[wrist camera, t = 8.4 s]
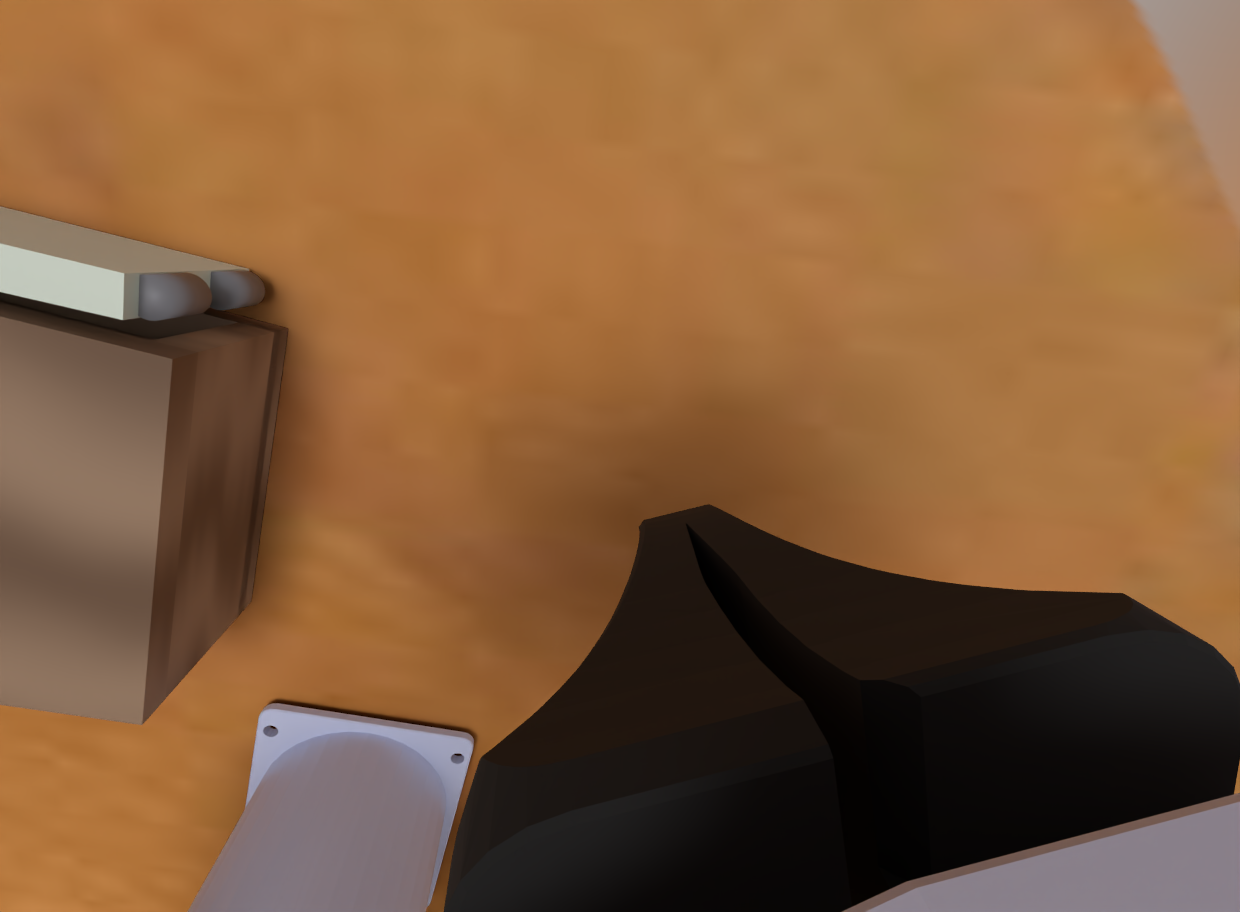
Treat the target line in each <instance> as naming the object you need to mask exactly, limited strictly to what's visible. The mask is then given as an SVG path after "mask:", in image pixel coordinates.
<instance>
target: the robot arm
mask: <svg viewBox="0 0 1240 912" xmlns="http://www.w3.org/2000/svg"><path fill="white" fill-rule="evenodd" d="M639 530H640V538H639V544H638V549H637V554H636V557H635V561H634V564H633V568H632V571H631V574H630V577H629V580H628V582H627V585H626V587H625V590H624V592H623V595H622V597H621V599H620V602H619V604H618V606H617V608H616V610H615V612H614V614H613V616H612V618H611V620H610V622H609V623H608V625H607V627H606V629H605V630H604V632H603V634H602V635H601V637H600V639H599V640H598V642H597V643H596V644H595V646H594V647H593V649H592V650H591V652H590V653H589V655H588V656H587V657H586V659H585V660H584V661H583V663H582V664H581V665H580V667H579V668H578V669H577V670H576V671H575V673H574V674H573V675H572V676H571V677H570V678H569V679H568V680H567V681H566V683H565V684H564V685H563V686H562V687H561V688H560V689H559V690H558V691H557V692H556V693H555V694H554V695H553V696H552V697H551V698H550V699H549V700H548V701H547V702H546V703H545V704H544V705H543V706H542V707H541V708H540V709H539V710H538V711H537V712H535V713H534V714H533V715H532V716H531V717H530V718H529V719H527V720H526V721H525V722H524V723H523V724H521V725H520V726H519V727H518V728H517V729H515V730H514V731H513V732H512V733H511V734H509V735H508V736H507V737H506V738H505V739H503V740H502V741H501V742H500V743H499V744H497V745H496V746H495V747H494V748H493V749H491V750H490V751H489V752H487V753H486V754H485V755H483V756H482V757H481V759H480V761H479V764H478V767H477V770H476V773H475V776H474V779H473V782H472V786H471V789H470V792H469V795H468V798H467V802H466V805H465V808H464V812H463V815H462V818H461V822H460V825H459V828H458V832H457V836H456V841H455V846H454V851H453V855H452V862H451V868H450V874H449V881H448V887H447V894H446V900H445V907H444V912H1240V793H1238V794H1234V790H1235V784H1236V778H1237V772H1238V766H1239V760H1240V683H1239V680H1238V678H1237V675H1236V672H1235V670H1234V667H1233V666H1232V665H1231V664H1230V663H1229V662H1228V661H1227V660H1226V659H1225V658H1224V657H1223V656H1222V655H1221V654H1220V653H1219V652H1218V651H1217V650H1216V649H1215V648H1214V647H1213V646H1212V645H1210V644H1208V643H1207V642H1205V641H1203V640H1202V639H1200V638H1198V637H1196V636H1195V635H1193V634H1191V633H1190V632H1188V631H1186V630H1185V629H1183V628H1181V627H1180V626H1178V625H1176V624H1174V623H1173V622H1171V621H1169V620H1168V619H1166V618H1164V617H1163V616H1161V615H1159V614H1158V613H1156V612H1154V611H1153V610H1151V609H1149V608H1147V607H1146V606H1144V605H1142V604H1141V603H1139V602H1137V601H1136V600H1134V599H1132V598H1131V597H1129V596H1127V595H1125V594H1123V593H1097V592H1062V591H1027V590H1013V589H1002V588H991V587H981V586H970V585H961V584H954V583H946V582H939V581H932V580H926V579H921V578H915V577H910V576H904V575H899V574H893V573H889V572H884V571H880V570H875V569H871V568H867V567H863V566H860V565H856V564H852V563H849V562H845V561H842V560H838V559H834V558H831V557H828V556H825V555H822V554H819V553H816V552H814V551H811V550H808V549H806V548H803V547H800V546H798V545H795V544H792V543H790V542H787V541H785V540H783V539H780V538H778V537H776V536H773V535H771V534H769V533H767V532H765V531H762V530H760V529H758V528H756V527H754V526H752V525H750V524H748V523H746V522H744V521H742V520H740V519H738V518H736V517H734V516H732V515H730V514H728V513H726V512H724V511H722V510H720V509H718V508H716V507H714V506H712V505H709V504H708V505H704V506H700V507H696V508H691V509H687V510H683V511H679V512H675V513H671V514H667V515H663V516H659V517H655V518H651V519H646V520H644V521H643V522H642V523H641V525H640V526H639ZM270 726H274V727H276V728H277V729H273V728H271V727H270ZM473 746H474V739H473V737H472V736H471V735H470V734H468V733H465V732H460V731H454V730H447V729H441V728H435V727H428V726H422V725H415V724H409V723H402V722H396V721H389V720H383V719H376V718H370V717H363V716H357V715H351V714H344V713H338V712H331V711H325V710H318V709H312V708H305V707H299V706H292V705H286V704H280V703H272V704H269V705H267V706H266V707H265V708H264V709H263V710H262V712H261V713H260V716H259V719H258V726H257V732H256V739H255V746H254V752H253V759H252V766H251V773H250V779H249V786H248V793H247V799H246V806H245V810H244V812H243V814H242V815H241V817H240V819H239V821H238V822H237V824H236V826H235V828H234V830H233V831H232V833H231V835H230V837H229V838H228V840H227V842H226V844H225V846H224V847H223V849H222V851H221V853H220V855H219V856H218V858H217V860H216V862H215V863H214V865H213V867H212V869H211V871H210V872H209V874H208V876H207V878H206V879H205V881H204V883H203V885H202V887H201V888H200V890H199V892H198V894H197V896H196V897H195V899H194V901H193V903H192V904H191V906H190V908H189V910H188V912H426V908H427V907H428V906H429V904H430V903H431V899H432V896H433V892H434V888H435V885H436V881H437V878H438V874H439V870H440V867H441V863H442V860H443V856H444V852H445V849H446V845H447V841H448V838H449V834H450V831H451V827H452V823H453V820H454V816H455V813H456V809H457V805H458V802H459V798H460V794H461V791H462V787H463V784H464V780H465V776H466V773H467V769H468V766H469V762H470V758H471V755H472V751H473ZM455 753H459V754H462V756H456V755H454V754H455Z"/></svg>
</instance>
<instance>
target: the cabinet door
mask: <svg viewBox="0 0 1240 912" xmlns="http://www.w3.org/2000/svg"><path fill="white" fill-rule="evenodd" d="M0 292H3V293H7V294H11V295H16V296H20V297H24V298H29V299H33V300H38V301H42V302H46V303H51V304H55V305H59V306H64V307H68V308H72V309H77V310H81V311H85V312H90V313H94V314H99V315H103V316H107V317H112V318H116V319H120V320H127V319H134V318H143V319H146V320H150V321H158V320H165V319H171V318H177V317H184V316H190V315H196V314H201V313H203V312H205V311H206V310H207V309H208V308H210V307H211V308H213V309H216V310H228V309H234V308H241V307H247V306H253V305H257V304H258V303H260V302H261V301H262V300H263V298H264V295H265V287H264V284H263V282H262V280H261V279H260V278H259V277H258V276H257V275H256V274H254V273H252V272H250V271H249V269H248V268H244V267H240V266H236V265H232V264H228V263H224V262H220V261H216V260H212V259H208V258H204V257H200V256H196V255H192V254H188V253H184V252H180V251H176V250H172V249H168V248H164V247H160V246H156V245H152V244H148V243H144V242H140V241H136V240H132V239H128V238H124V237H120V236H116V235H112V234H108V233H104V232H100V231H96V230H92V229H88V228H84V227H81V226H77V225H73V224H69V223H65V222H61V221H57V220H53V219H49V218H45V217H41V216H37V215H33V214H29V213H25V212H21V211H17V210H13V209H9V208H5V207H1V206H0Z"/></svg>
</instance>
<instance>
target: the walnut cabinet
mask: <svg viewBox="0 0 1240 912" xmlns="http://www.w3.org/2000/svg"><path fill="white" fill-rule="evenodd" d="M287 334H288V328H285V327H281V326H277V325H273V324H270V323H266V322H262V321H258V320H255V319H251V318H247V317H243V316H239V315H236V314H232V313H228V312H224V311H221V310H216V309H213V308H208V309H207V310H206V311H205V312H203V313H201V314H196V315H190V316H184V317H177V318H171V319H165V320H158V321H150V320H146V319H143V318H134V319H127V320H120V319H116V318H112V317H107V316H103V315H99V314H94V313H90V312H85V311H81V310H77V309H72V308H68V307H64V306H59V305H55V304H51V303H46V302H42V301H38V300H33V299H29V298H24V297H20V296H16V295H11V294H7V293H3V292H0V705H6V706H13V707H20V708H27V709H34V710H41V711H48V712H55V713H62V714H69V715H76V716H83V717H90V718H97V719H104V720H111V721H118V722H125V723H132V724H139V725H143V723H144V722H145V721H146V720H147V719H148V718H149V717H150V716H151V714H152V713H153V712H154V711H155V710H156V709H157V708H158V706H159V705H160V704H161V703H162V702H163V701H164V700H165V699H166V697H167V696H168V695H169V694H170V693H171V692H172V691H173V689H174V688H175V687H176V686H177V685H178V684H179V683H180V682H181V680H182V679H183V678H184V677H185V676H186V675H187V674H188V672H189V671H190V670H191V669H192V668H193V667H194V666H195V665H196V663H197V662H198V661H199V660H200V659H201V658H202V657H203V655H204V654H205V653H206V652H207V651H208V650H209V649H210V648H211V646H212V645H213V644H214V643H215V642H216V641H217V640H218V638H219V637H220V636H221V635H222V634H223V633H224V632H225V631H226V629H227V628H228V627H229V626H230V625H231V624H232V623H233V621H234V620H235V619H236V618H237V617H238V616H239V615H240V614H241V612H242V611H243V610H244V609H245V608H246V607H247V606H248V604H249V603H250V602H251V599H252V592H253V584H254V577H255V570H256V562H257V555H258V547H259V540H260V533H261V525H262V518H263V511H264V503H265V496H266V489H267V481H268V474H269V467H270V459H271V452H272V444H273V437H274V430H275V422H276V415H277V408H278V400H279V393H280V386H281V378H282V371H283V364H284V356H285V349H286V342H287Z"/></svg>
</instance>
